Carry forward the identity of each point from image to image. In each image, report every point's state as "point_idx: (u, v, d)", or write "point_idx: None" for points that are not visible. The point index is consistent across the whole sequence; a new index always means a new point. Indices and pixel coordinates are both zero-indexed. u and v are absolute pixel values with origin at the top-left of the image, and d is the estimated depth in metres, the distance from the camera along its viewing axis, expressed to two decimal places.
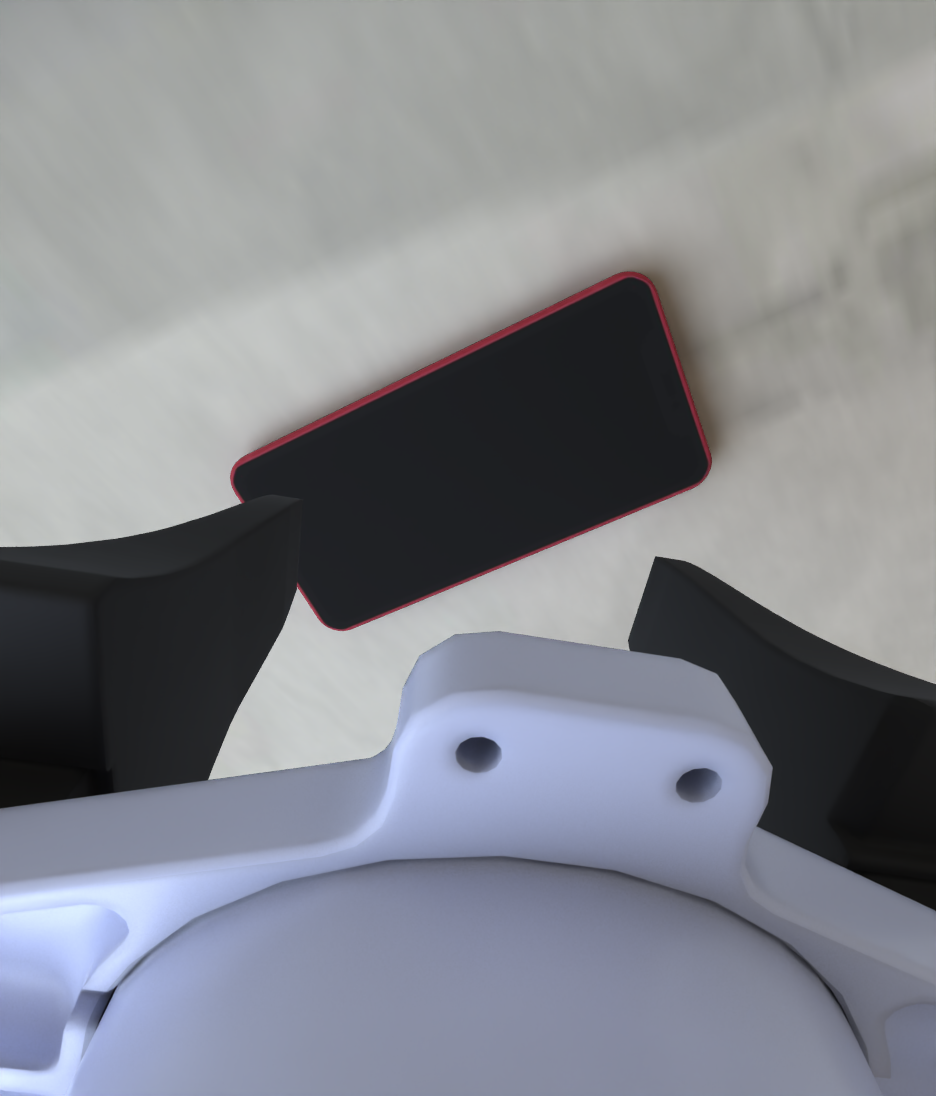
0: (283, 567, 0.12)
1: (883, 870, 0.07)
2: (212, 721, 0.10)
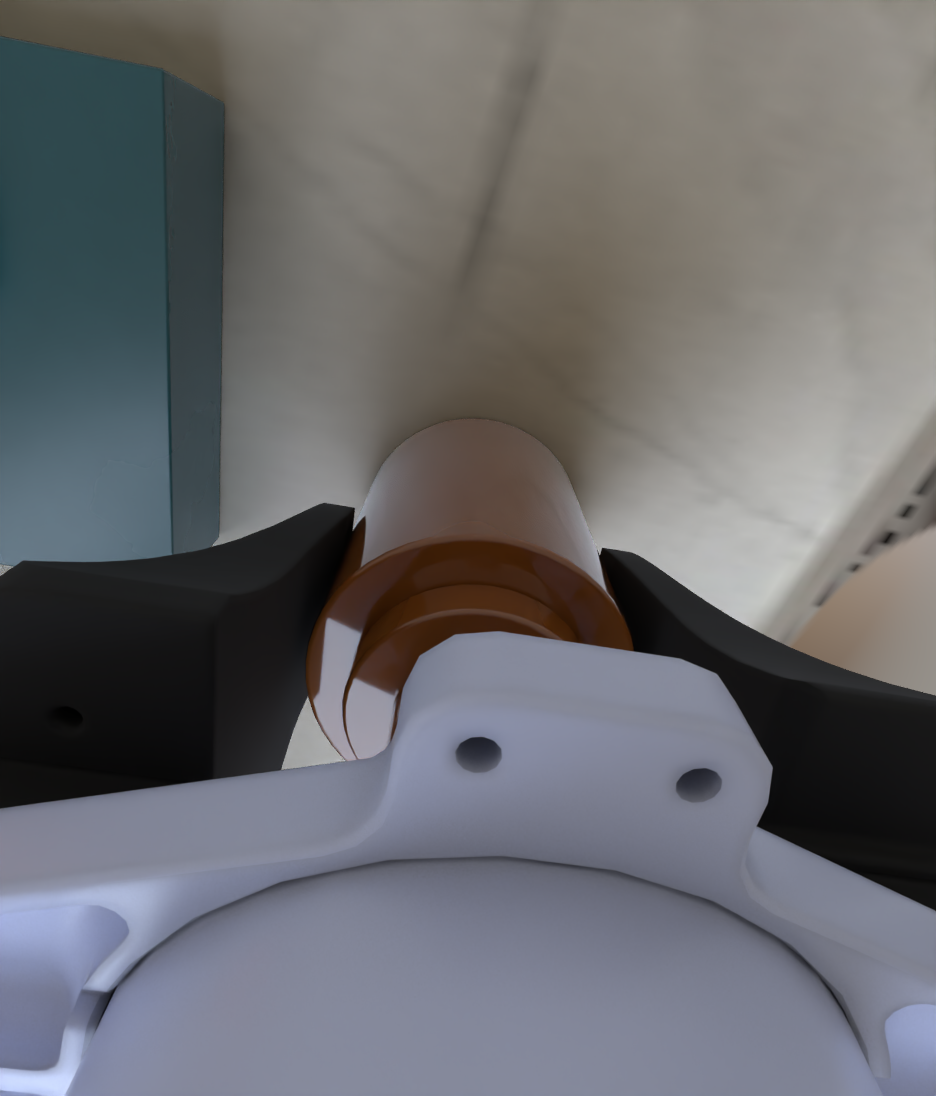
0: None
1: None
2: (281, 731, 0.10)
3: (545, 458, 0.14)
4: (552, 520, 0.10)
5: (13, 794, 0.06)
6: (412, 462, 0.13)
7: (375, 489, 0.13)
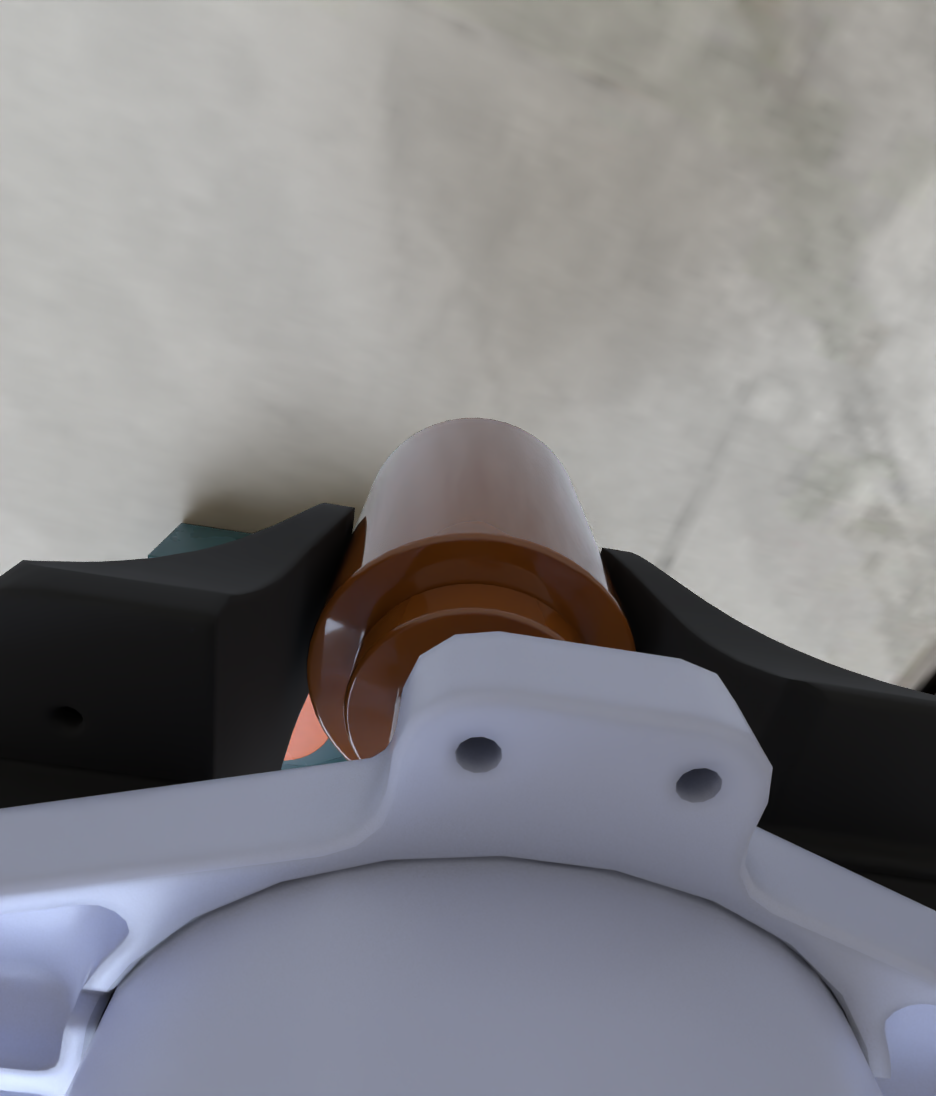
0: None
1: None
2: (281, 730, 0.10)
3: (546, 457, 0.14)
4: (553, 520, 0.10)
5: (13, 794, 0.06)
6: (413, 461, 0.13)
7: (376, 488, 0.13)
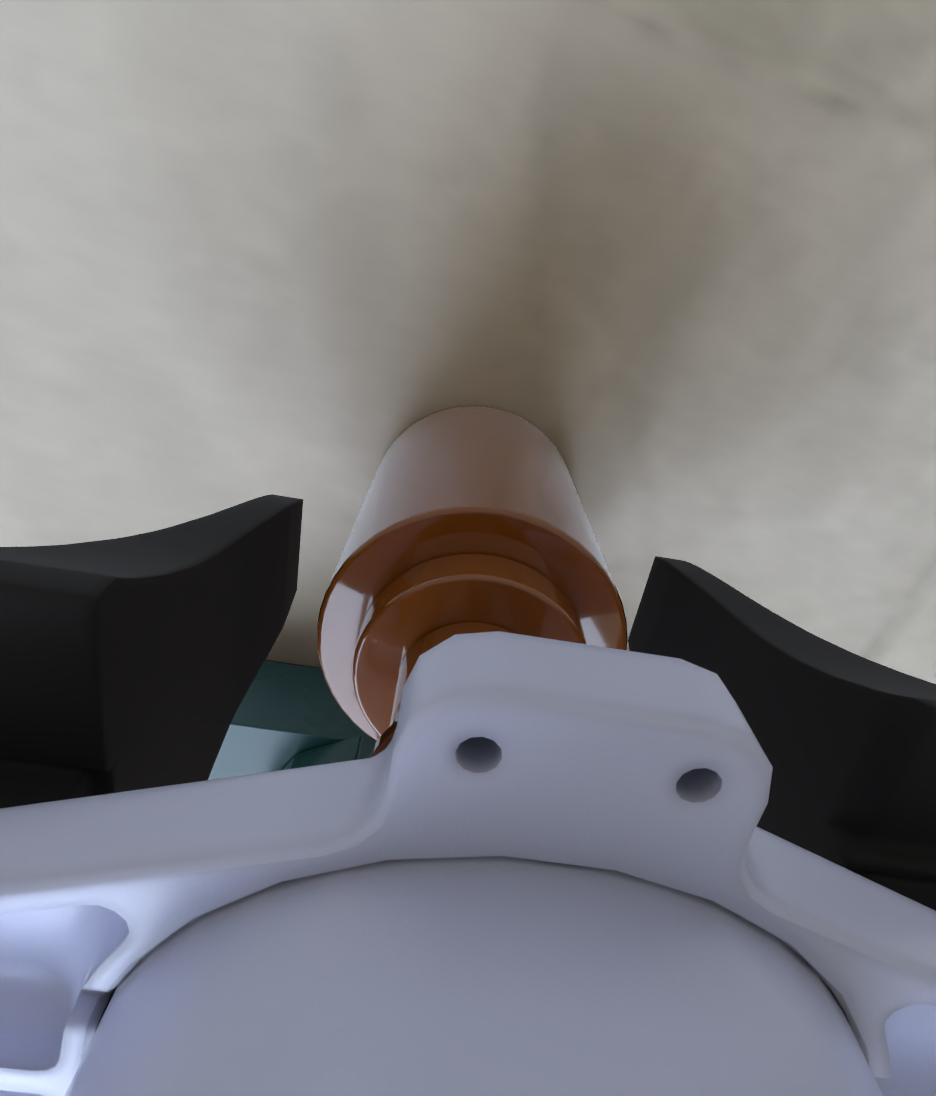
0: (283, 567, 0.12)
1: (883, 870, 0.07)
2: (212, 721, 0.10)
3: (543, 443, 0.14)
4: (548, 497, 0.11)
5: None
6: (416, 446, 0.13)
7: (381, 472, 0.14)
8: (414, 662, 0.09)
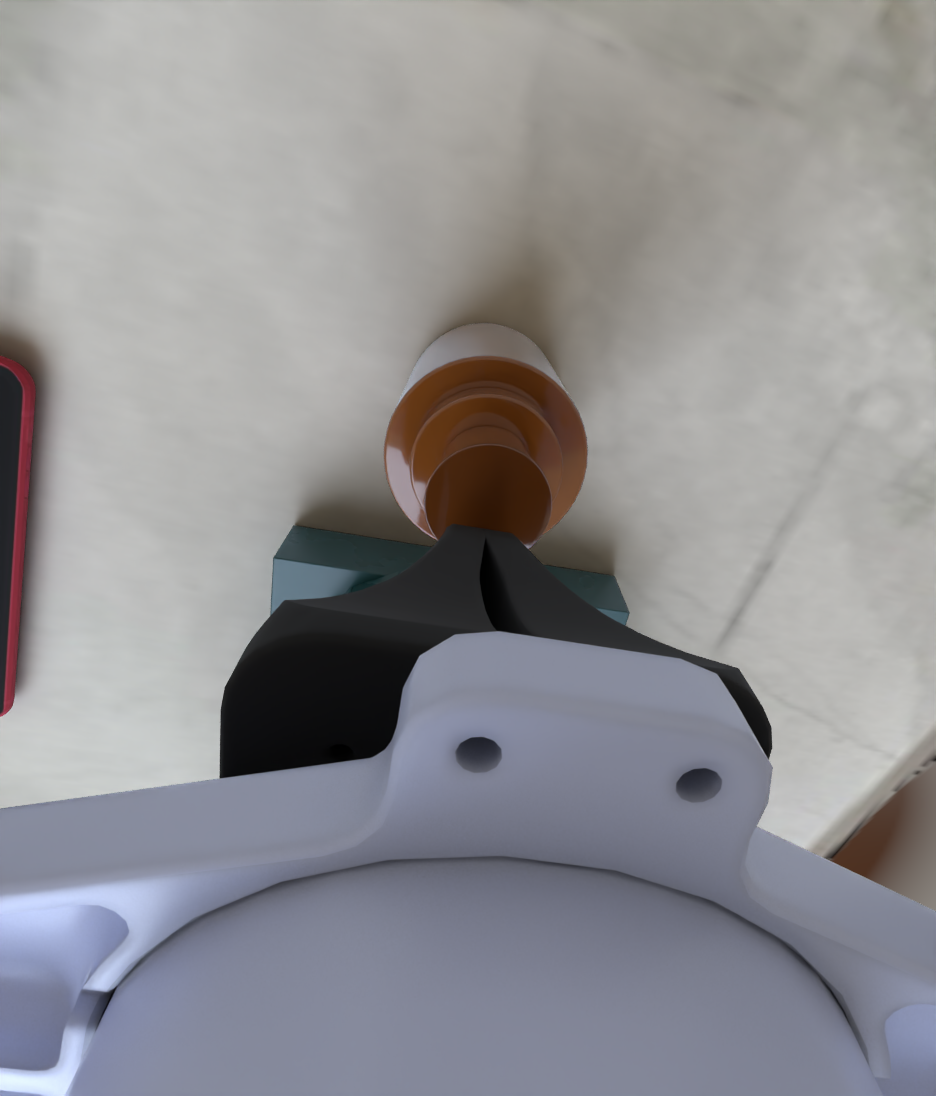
0: None
1: None
2: None
3: (534, 346, 0.20)
4: (536, 361, 0.16)
5: None
6: (444, 342, 0.19)
7: (418, 363, 0.19)
8: (451, 446, 0.15)
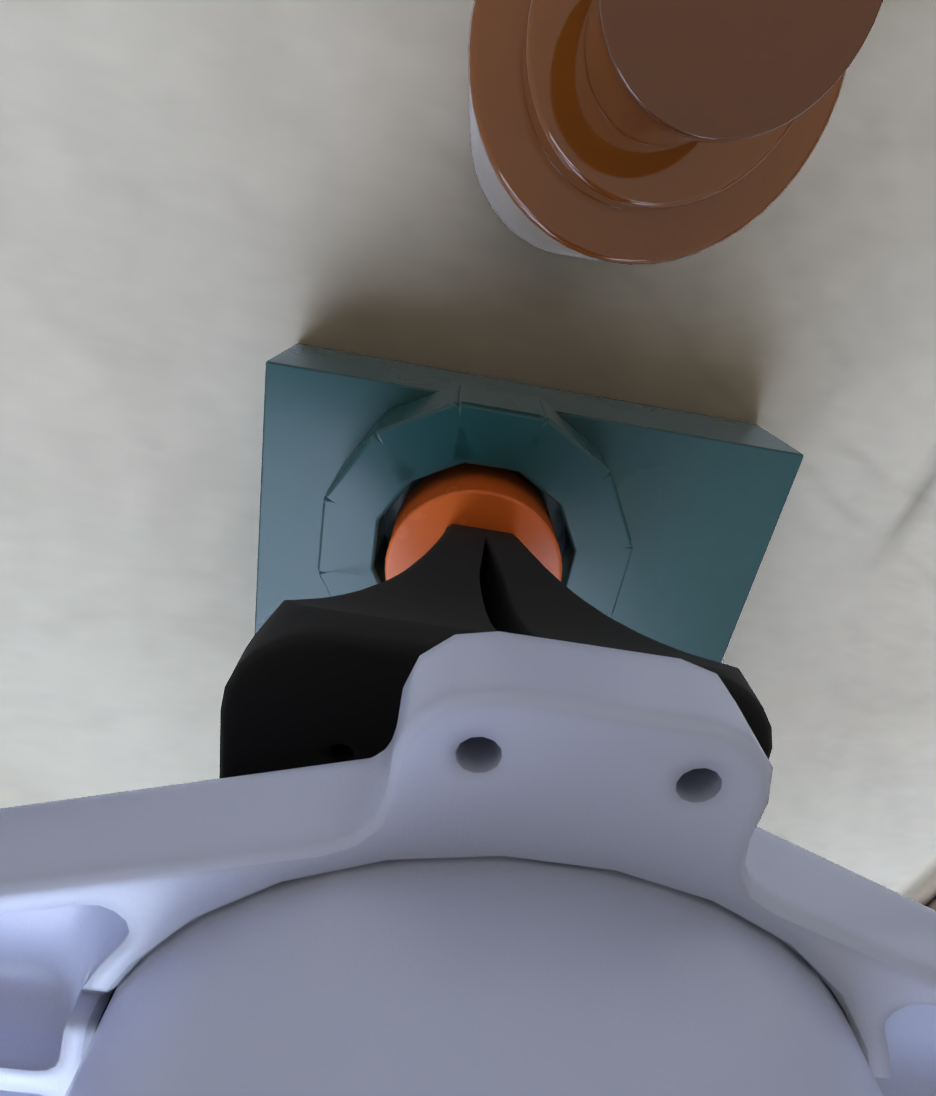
0: None
1: None
2: None
3: None
4: None
5: None
6: None
7: None
8: None
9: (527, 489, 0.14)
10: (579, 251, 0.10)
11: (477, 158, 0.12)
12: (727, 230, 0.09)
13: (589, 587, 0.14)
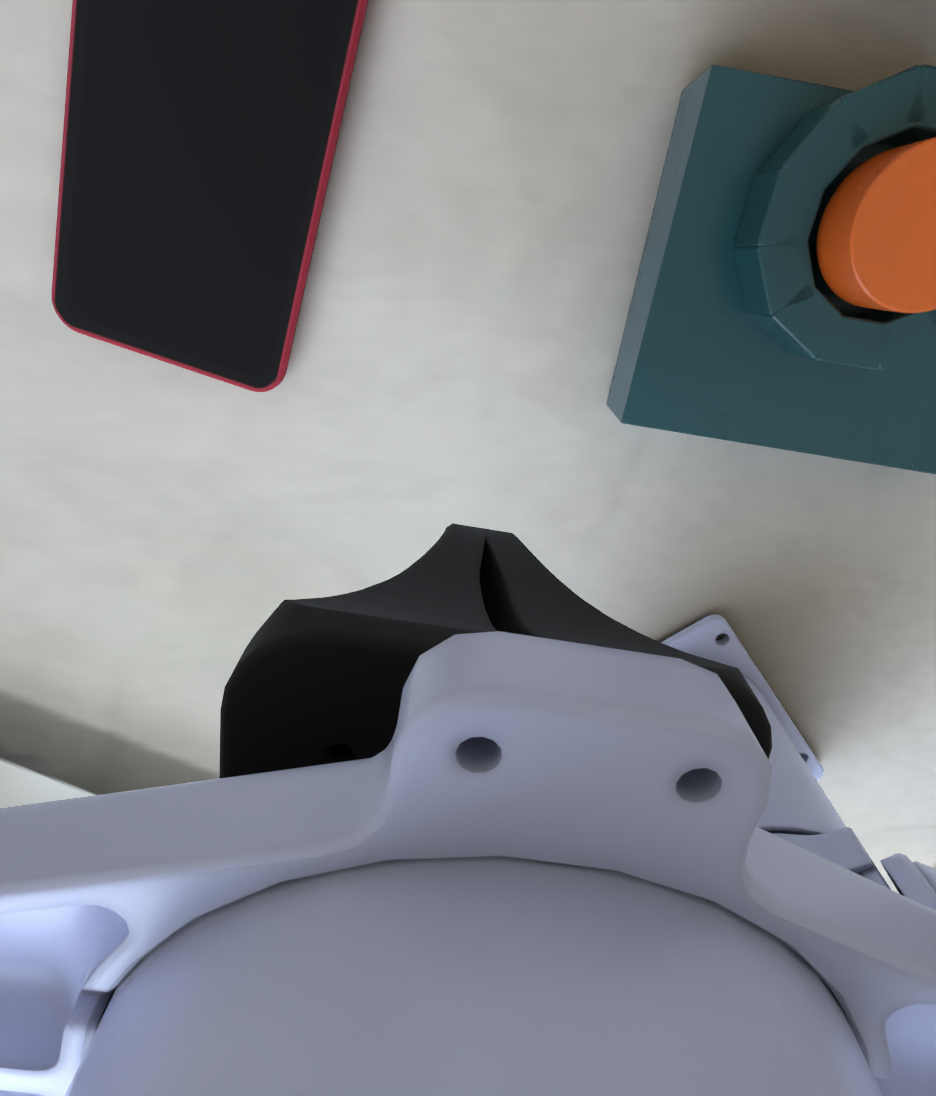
0: None
1: None
2: None
3: None
4: None
5: None
6: None
7: None
8: None
9: None
10: None
11: None
12: None
13: None
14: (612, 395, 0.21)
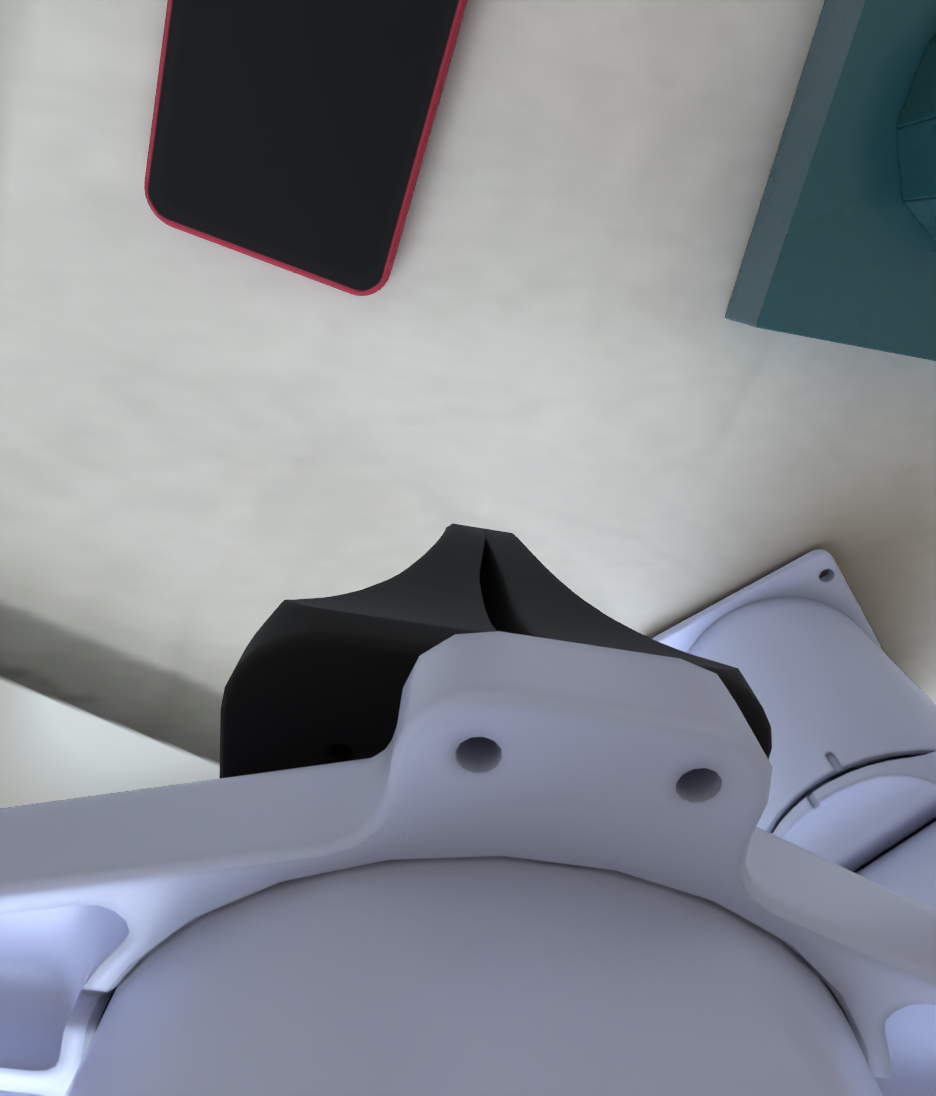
0: None
1: None
2: None
3: None
4: None
5: None
6: None
7: None
8: None
9: None
10: None
11: None
12: None
13: None
14: (735, 305, 0.20)
